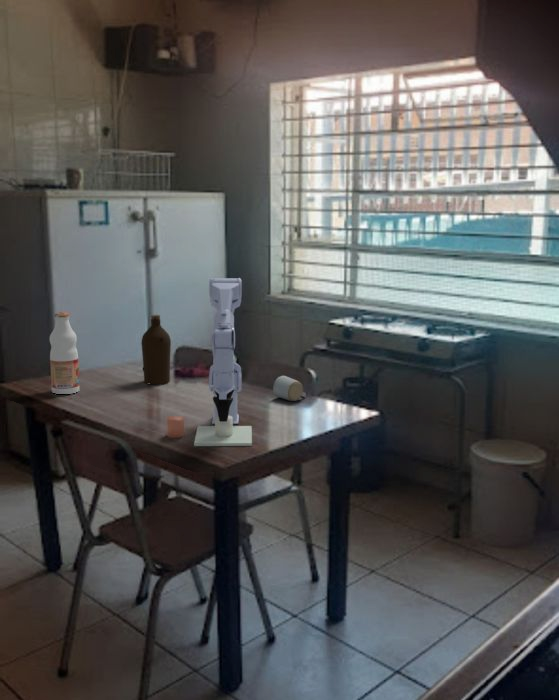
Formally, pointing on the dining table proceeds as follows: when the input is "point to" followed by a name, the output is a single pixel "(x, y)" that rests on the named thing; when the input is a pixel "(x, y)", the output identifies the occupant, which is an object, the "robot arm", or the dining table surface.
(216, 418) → the off-white rounded cylinder
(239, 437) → the baseplate
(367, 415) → the dining table surface
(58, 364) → the fruit juice
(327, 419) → the dining table surface
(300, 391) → the ceramic mug
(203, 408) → the dining table surface
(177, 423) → the pink rounded piece
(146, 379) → the olive oil
